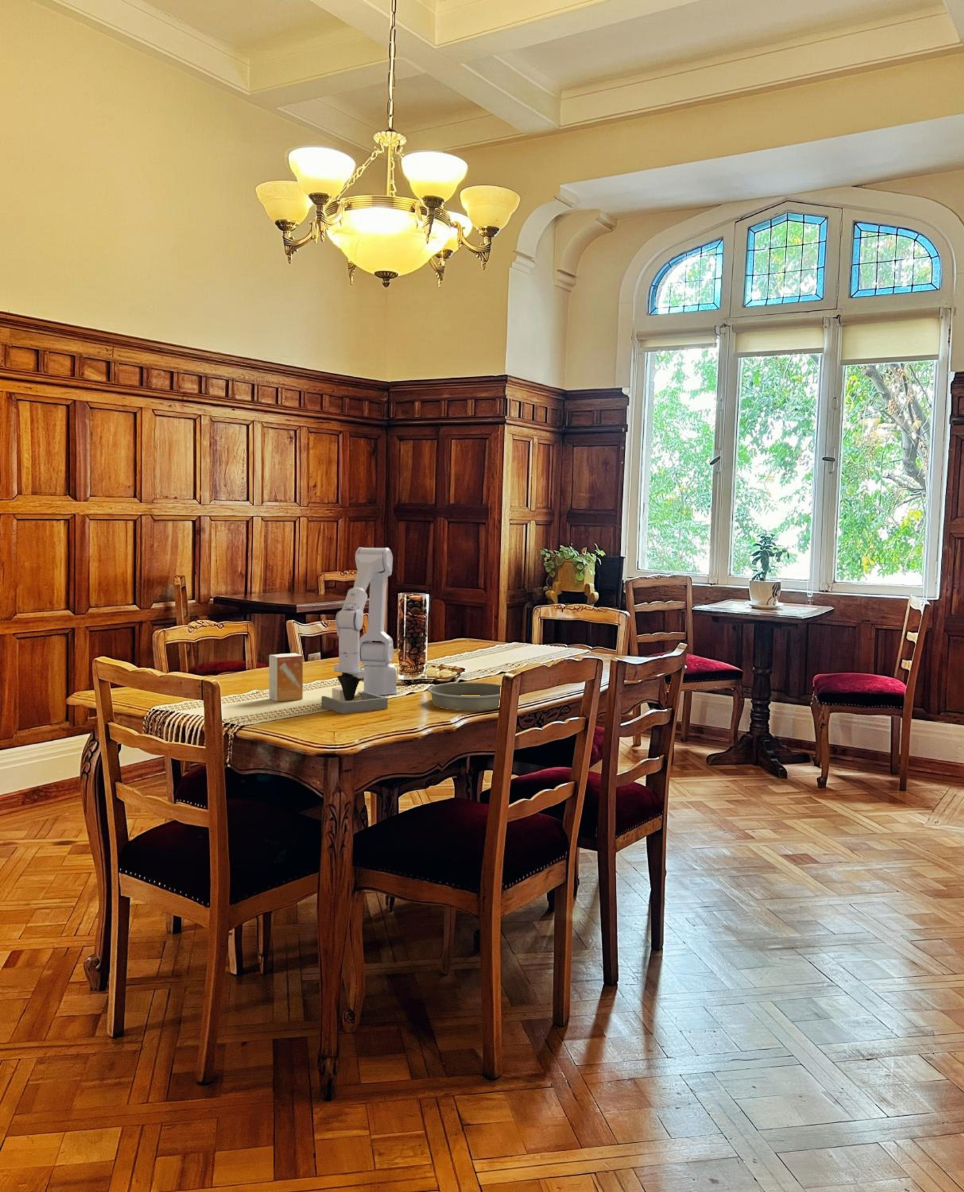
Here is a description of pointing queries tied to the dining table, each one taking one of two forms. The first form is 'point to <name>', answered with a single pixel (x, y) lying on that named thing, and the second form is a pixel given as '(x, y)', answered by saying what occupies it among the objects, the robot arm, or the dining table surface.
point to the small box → (286, 677)
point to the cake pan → (452, 698)
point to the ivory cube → (338, 694)
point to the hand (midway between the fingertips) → (349, 700)
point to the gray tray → (356, 704)
